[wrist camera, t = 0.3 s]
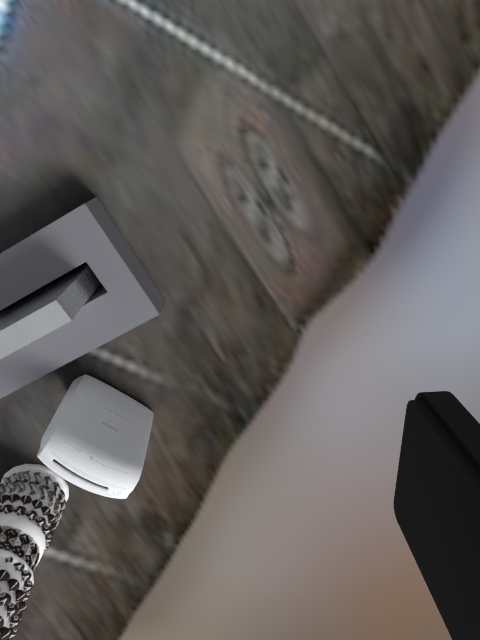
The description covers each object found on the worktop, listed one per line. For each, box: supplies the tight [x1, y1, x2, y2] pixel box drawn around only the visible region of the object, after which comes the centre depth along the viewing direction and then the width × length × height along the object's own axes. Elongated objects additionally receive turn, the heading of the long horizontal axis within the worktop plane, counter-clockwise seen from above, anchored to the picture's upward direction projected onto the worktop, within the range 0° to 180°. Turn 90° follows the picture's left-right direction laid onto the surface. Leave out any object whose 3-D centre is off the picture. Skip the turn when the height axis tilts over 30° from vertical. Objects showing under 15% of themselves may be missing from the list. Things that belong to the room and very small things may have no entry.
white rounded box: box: [37, 375, 153, 499], centre depth 45 cm, size 10×4×12 cm, turn 52°
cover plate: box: [0, 264, 101, 359], centre depth 40 cm, size 2×12×11 cm, turn 118°
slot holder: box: [0, 197, 164, 399], centre depth 44 cm, size 12×20×4 cm, turn 118°
